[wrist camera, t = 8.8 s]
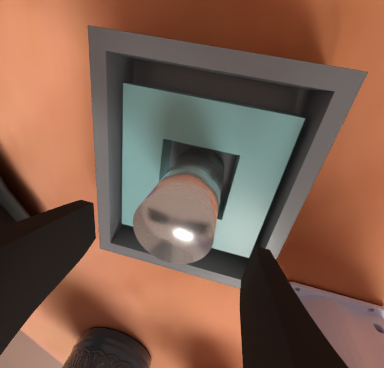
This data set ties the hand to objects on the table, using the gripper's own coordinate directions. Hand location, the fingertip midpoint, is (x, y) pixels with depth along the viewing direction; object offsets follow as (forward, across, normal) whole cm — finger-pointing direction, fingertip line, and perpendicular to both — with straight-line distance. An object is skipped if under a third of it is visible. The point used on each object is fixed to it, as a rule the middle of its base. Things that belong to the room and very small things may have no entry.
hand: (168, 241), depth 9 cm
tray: (+10, 0, 0) cm, 10 cm away
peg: (+9, 0, 0) cm, 9 cm away
